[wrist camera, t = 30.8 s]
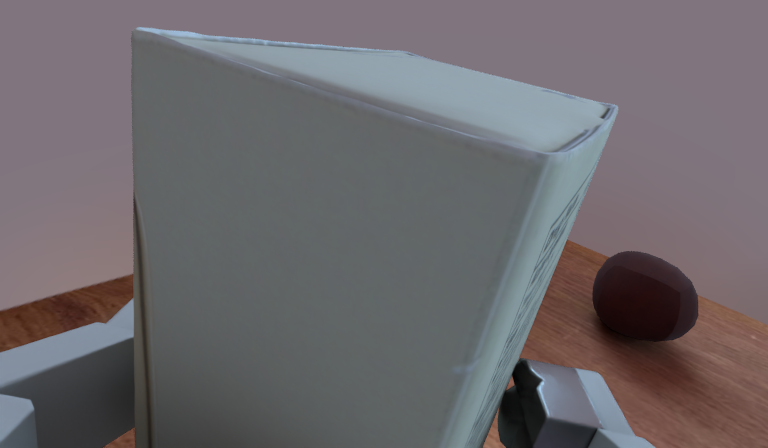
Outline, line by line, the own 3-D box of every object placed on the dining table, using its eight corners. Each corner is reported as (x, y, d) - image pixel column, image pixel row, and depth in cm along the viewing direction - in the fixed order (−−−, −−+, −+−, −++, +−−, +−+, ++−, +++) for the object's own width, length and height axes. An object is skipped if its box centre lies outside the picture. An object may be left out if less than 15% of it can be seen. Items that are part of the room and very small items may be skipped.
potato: (689, 337, 38) (726, 273, 36) (662, 375, 32) (705, 301, 30) (600, 291, 42) (628, 231, 40) (562, 317, 36) (593, 249, 34)
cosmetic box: (316, 466, 14) (400, 49, 10) (448, 556, 13) (626, 103, 8) (119, 689, 9) (103, 6, 4) (303, 896, 7) (580, 136, 3)
